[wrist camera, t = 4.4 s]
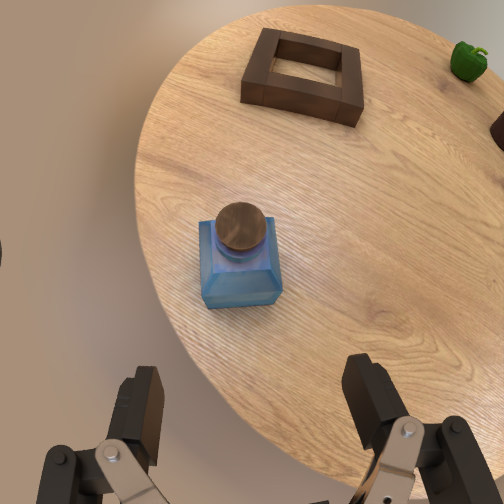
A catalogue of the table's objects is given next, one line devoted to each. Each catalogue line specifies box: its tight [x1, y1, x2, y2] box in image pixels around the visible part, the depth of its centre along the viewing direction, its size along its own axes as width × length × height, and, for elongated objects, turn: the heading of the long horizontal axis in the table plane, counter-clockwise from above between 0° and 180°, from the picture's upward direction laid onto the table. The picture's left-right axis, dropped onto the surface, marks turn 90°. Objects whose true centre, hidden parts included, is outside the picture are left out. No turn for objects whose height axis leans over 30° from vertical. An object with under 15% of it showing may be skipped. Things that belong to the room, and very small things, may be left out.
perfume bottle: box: [199, 202, 283, 309], centre depth 24 cm, size 6×6×12 cm
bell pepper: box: [450, 41, 488, 82], centre depth 43 cm, size 8×8×10 cm
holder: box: [240, 28, 364, 128], centre depth 39 cm, size 16×16×4 cm
